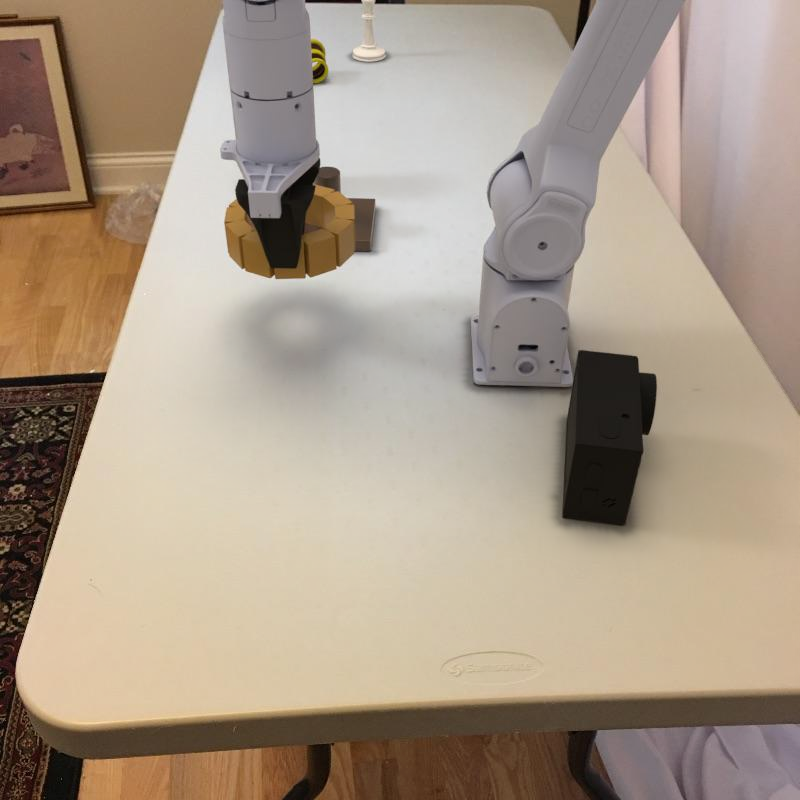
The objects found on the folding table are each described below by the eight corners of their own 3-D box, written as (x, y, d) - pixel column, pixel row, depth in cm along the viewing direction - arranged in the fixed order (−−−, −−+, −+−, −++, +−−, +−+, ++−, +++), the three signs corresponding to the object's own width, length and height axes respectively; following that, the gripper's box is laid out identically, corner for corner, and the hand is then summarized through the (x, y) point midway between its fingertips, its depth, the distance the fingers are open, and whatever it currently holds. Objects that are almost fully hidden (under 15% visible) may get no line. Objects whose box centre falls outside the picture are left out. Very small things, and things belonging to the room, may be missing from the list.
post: (370, 251, 89) (369, 193, 85) (279, 249, 89) (274, 191, 86) (375, 208, 96) (375, 153, 92) (291, 206, 96) (287, 151, 93)
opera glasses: (258, 92, 124) (255, 58, 120) (256, 71, 127) (253, 37, 123) (329, 88, 125) (328, 55, 121) (325, 68, 128) (324, 34, 124)
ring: (356, 277, 71) (355, 244, 69) (223, 280, 71) (219, 247, 69) (354, 213, 79) (353, 181, 77) (234, 215, 79) (230, 184, 77)
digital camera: (642, 530, 61) (663, 453, 57) (561, 519, 62) (575, 443, 57) (638, 430, 69) (655, 356, 65) (566, 421, 70) (578, 348, 65)
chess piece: (347, 59, 132) (345, -14, 125) (358, 49, 135) (357, -23, 129) (379, 63, 131) (379, -10, 124) (390, 52, 134) (390, -20, 128)
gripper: (231, 49, 68) (248, 212, 77) (192, 126, 57) (218, 308, 65) (325, 50, 68) (332, 214, 77) (305, 128, 57) (316, 310, 65)
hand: (285, 257), depth 71 cm, fingers closed on ring, 2 cm apart
